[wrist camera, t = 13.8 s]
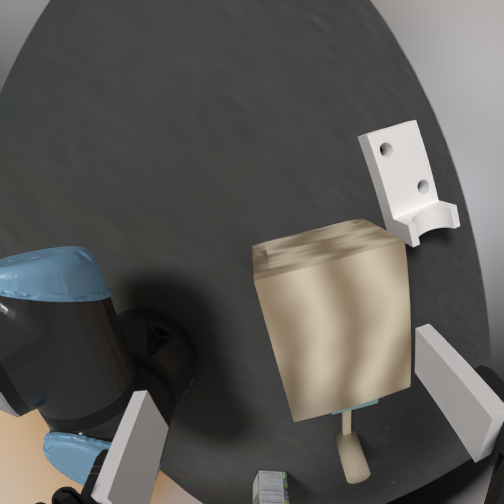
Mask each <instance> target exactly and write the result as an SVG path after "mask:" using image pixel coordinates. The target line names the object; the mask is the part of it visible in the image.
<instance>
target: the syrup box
mask: <svg viewBox="0 0 504 504" xmlns="http://www.w3.org/2000/svg"><path fill="white" fill-rule="evenodd" d="M253 504H289V494H288V484H287V473H286V472H280V471H263V470H259V471H258V473H257V475H256V478H255V480H254V482H253Z"/></svg>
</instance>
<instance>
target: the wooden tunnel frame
mask: <svg viewBox="0 0 504 504" xmlns="http://www.w3.org/2000/svg"><path fill="white" fill-rule="evenodd" d="M252 256H253V273H254V283H255V287H256V290H257V294H258V297H259V301H260V304H261V308H262V311H263V315H264V319H265V322H266V326H267V329H268V333H269V336H270V340H271V343H272V347H273V350H274V354H275V357H276V361H277V365H278V368H279V372H280V375H281V379H282V382H283V386H284V389H285V393H286V396H287V400H288V403H289V407H290V410H291V414H292V417H293V421H294V422H297V421H301V420H305V419H309V418H313V417H317V416H321V415H325V414H329V413H332V412H336V411H339V410H343V409H346V408H350V407H353V406H356V405H359V404H362V403H366V402H369V401H372V400H375V399H378V398H381V397H383V396H386V395H389V394H392V393H395V392H397V391H400V390H403V389H405V388H408V387H410V381H411V318H410V297H409V282H408V269H407V258H406V249H405V241H404V240H402V239H401V238H399V237H397V236H395V235H393V234H391V233H390V232H388V231H386V230H384V229H382V228H380V227H378V226H376V225H375V224H373V223H371V222H369V221H367V220H365V219H363V218H358V219H354V220H350V221H346V222H342V223H338V224H334V225H330V226H326V227H323V228H319V229H315V230H311V231H307V232H303V233H299V234H295V235H291V236H287V237H283V238H280V239H276V240H272V241H268V242H264V243H260V244H256V245H252Z"/></svg>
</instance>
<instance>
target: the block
mask: <svg viewBox="0 0 504 504" xmlns="http://www.w3.org/2000/svg"><path fill="white" fill-rule="evenodd" d="M376 403H378V399H375V400H372V401H369V402H366V403H362V404H359V405H356V406H353V407H350V408H346V409H343V410H339V411H336V412H332V413H331V414H332V415H333V414H337V413H341V412H342V432H340V433H339V434H337V436H336V437H335V441H336V445H337V448H338V451H339V455H340V458H341V462H342V466H343V469H344V473H345V476H346V480H347V482H348V483H351V484H354V483H359V482H362V481H364V480H366V479H367V478H368V477H369V476H370V470H369V468H368V465H367V462H366V459H365V456H364V454H363V451H362V448H361V445H360V442H359V440H358V437H357V434H356V432H355V431H354V430H351V410H354V409H358V408H361V407H365V406H369V405H373V404H376Z"/></svg>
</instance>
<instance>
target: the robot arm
mask: <svg viewBox="0 0 504 504" xmlns="http://www.w3.org/2000/svg"><path fill="white" fill-rule="evenodd" d="M110 296H111V292H110V289H109V288H108V287H107V286H106V283H105V280H104V278H103V275H102V272H101V270H100V267H99V264H98V261H97V259H96V257H95V256H94V254H93V253H92V252H91V251H89V250H88V249H86V248H83V247H79V246H66V247H56V248H49V249H43V250H37V251H32V252H27V253H22V254H18V255H14V256H10V257H6V258H3V259H0V410H2V411H4V412H6V413H9V414H11V415H13V416H16V417H20V416H22V415H24V414H26V413H28V412H30V411H32V410H34V409H38V410H39V412H40V413H41V415H42V417H43V418H44V420H45V421H46V423H47V424H48V426H49V428H50V432H49V433H47V434H46V436H44V444H43V445H44V446H43V451H44V454H45V456H46V458H47V459H48V460H49V462H50V463H51V464H52V465H53V466H54V467H55V468H56V469H57V470H58V471H60V472H61V473H62V474H64V475H65V476H67V477H68V478H70V479H71V480H73V481H75V482H77V483H79V484H81V485H83V486H84V487H83V489H82V492H81V494H79V493H78V492H77V491H76V490H75V489H74V488H72V487H62V488H60V489H58V490H57V491H56V492H55V493H54V495H53V497H52V504H150V500H151V495H152V491H153V487H154V483H155V480H156V478H157V475H158V472H159V471H160V469H161V464H160V463H161V459H162V455H163V451H164V447H165V443H166V439H167V435H168V431H169V427H170V423H171V419H172V415H173V411H174V407H175V405H176V404H177V403H178V402H179V400H180V399H181V397H182V396H183V395H185V394H186V393H187V392H188V390H189V389H190V388H191V386H192V384H193V382H194V380H195V377H196V372H197V368H198V356H197V352H196V349H195V346H194V344H193V342H192V340H191V339H190V337H189V336H188V335H187V333H186V332H185V331H184V330H183V329H182V328H181V327H180V326H179V325H177V324H176V323H175V322H173V321H172V320H170V319H168V318H167V317H165V316H163V315H160V314H158V313H155V312H151V311H146V310H130V311H125V312H122V313H120V314H118V315H116V312H115V310H114V307H113V303H112V300H111V297H110ZM415 373H416V375H417V376H418V377H419V379H420V380H421V382H422V383H423V385H424V386H425V387H426V389H427V390H428V392H429V393H430V395H431V396H432V398H433V399H434V400H435V402H436V403H437V405H438V406H439V408H440V409H441V411H442V412H443V414H444V415H445V417H446V418H447V420H448V421H449V423H450V424H451V426H452V427H453V429H454V430H455V432H456V433H457V435H458V436H459V438H460V439H461V441H462V443H463V444H464V446H465V447H466V449H467V450H468V452H469V453H470V455H471V457H472V458H473V460H474V461H475V462H477V461H479V460H481V459H482V458H484V457H486V456H487V455H489V454H491V451H492V449H493V447H494V446H495V447H496V448H497V450H498V452H497V455H496V457H495V459H494V461H493V463H492V465H494V469H493V473H492V477H491V481H490V485H489V489H488V492H487V495H486V499H485V502H484V504H504V382H503V381H502V380H501V378H499V377H498V375H497V374H496V373H495V372H494V371H493V370H492V369H490V368H488V367H486V366H483V365H480V366H478V367H477V368H475V369H473V368H472V367H471V366H470V365H469V364H468V363H467V362H466V361H465V360H464V359H463V358H462V357H461V356H460V355H459V354H458V352H457V351H456V350H455V349H454V348H453V347H452V346H451V345H450V344H449V343H448V342H447V341H446V340H445V339H444V338H443V337H442V336H441V335H440V334H439V333H438V332H437V331H436V330H435V329H434V328H433V327H432V326H431V325H430V324H426V325H424V326H421V327H418V328H416V347H415ZM36 504H45V503H43V502H38V503H36Z"/></svg>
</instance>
